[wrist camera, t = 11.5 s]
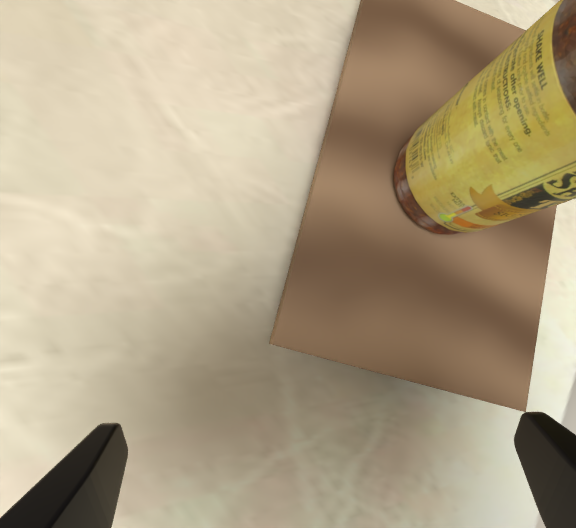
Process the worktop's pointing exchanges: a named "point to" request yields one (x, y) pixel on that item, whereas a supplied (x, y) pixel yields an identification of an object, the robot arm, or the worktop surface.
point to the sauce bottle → (499, 137)
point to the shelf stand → (411, 224)
